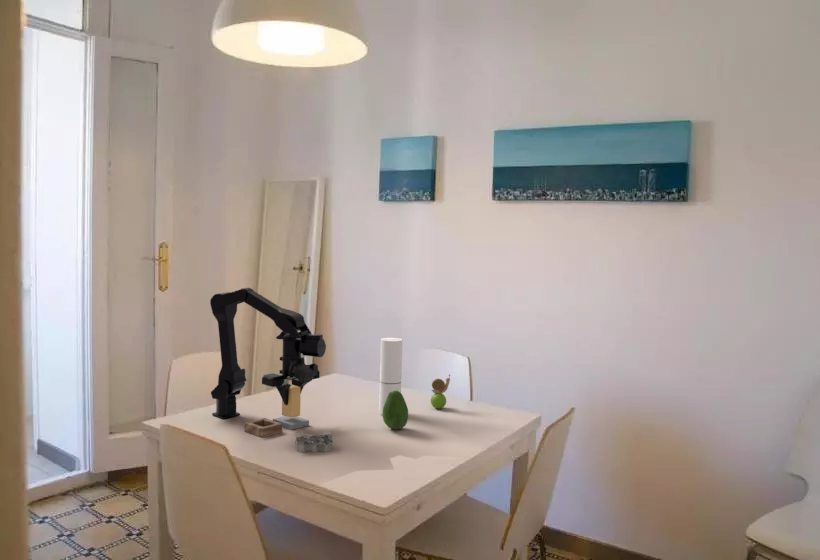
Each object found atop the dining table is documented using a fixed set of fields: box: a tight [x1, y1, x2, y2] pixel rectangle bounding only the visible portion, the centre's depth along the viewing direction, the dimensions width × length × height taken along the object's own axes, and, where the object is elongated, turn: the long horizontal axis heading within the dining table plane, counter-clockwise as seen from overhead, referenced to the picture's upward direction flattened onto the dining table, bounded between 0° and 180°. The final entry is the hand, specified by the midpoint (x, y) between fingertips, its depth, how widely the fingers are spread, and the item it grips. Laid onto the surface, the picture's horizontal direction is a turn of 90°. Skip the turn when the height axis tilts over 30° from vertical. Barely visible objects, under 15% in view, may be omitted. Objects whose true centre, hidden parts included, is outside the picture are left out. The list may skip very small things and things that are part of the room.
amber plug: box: [281, 384, 302, 418], centre depth 207 cm, size 4×4×9 cm
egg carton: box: [294, 432, 334, 453], centre depth 187 cm, size 10×7×4 cm
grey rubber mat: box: [272, 415, 310, 431], centre depth 208 cm, size 9×7×2 cm
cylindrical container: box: [378, 337, 403, 416], centre depth 223 cm, size 7×7×25 cm
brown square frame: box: [243, 417, 283, 438], centre depth 200 cm, size 8×8×2 cm
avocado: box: [381, 391, 409, 431], centre depth 206 cm, size 8×8×12 cm
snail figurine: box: [430, 374, 451, 410], centre depth 231 cm, size 5×6×12 cm
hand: (291, 403), depth 207 cm, fingers closed on amber plug, 3 cm apart
